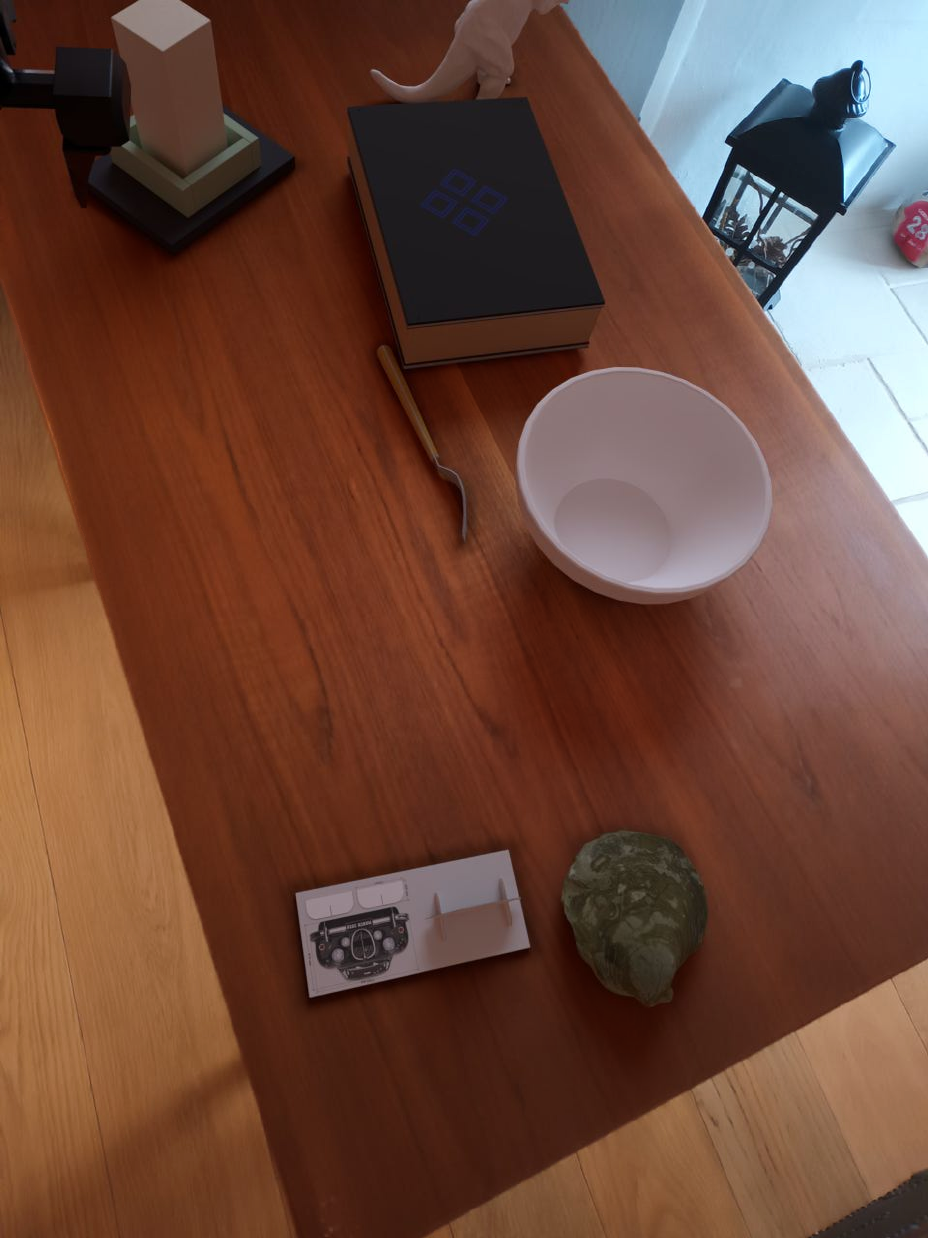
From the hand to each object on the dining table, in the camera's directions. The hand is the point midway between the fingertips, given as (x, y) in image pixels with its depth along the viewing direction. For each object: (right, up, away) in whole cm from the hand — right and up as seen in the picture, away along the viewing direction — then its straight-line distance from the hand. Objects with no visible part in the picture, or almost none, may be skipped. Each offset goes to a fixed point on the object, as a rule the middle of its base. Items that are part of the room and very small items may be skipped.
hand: (16, 202), depth 62 cm
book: (+32, +4, +21) cm, 38 cm away
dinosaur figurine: (+32, +25, +29) cm, 50 cm away
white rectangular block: (+6, +13, +19) cm, 24 cm away
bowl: (+44, -23, +11) cm, 51 cm away
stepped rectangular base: (+6, +12, +20) cm, 24 cm away
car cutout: (+28, -50, -2) cm, 58 cm away
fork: (+29, -15, +12) cm, 34 cm away
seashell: (+44, -51, 0) cm, 67 cm away
